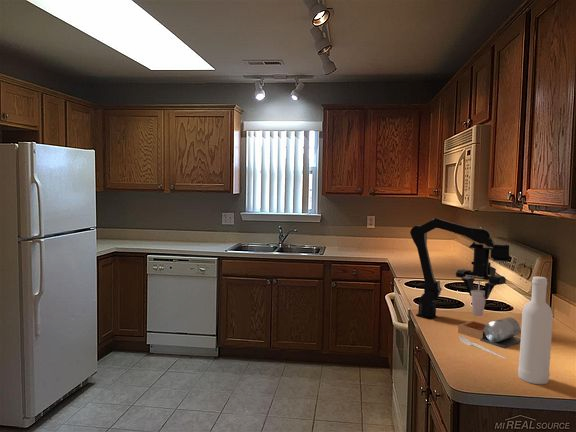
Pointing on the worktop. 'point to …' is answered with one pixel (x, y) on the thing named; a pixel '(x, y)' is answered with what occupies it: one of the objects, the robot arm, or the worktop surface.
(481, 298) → the white cup with straw
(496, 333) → the motor unit
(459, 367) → the worktop surface
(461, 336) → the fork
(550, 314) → the bottle
